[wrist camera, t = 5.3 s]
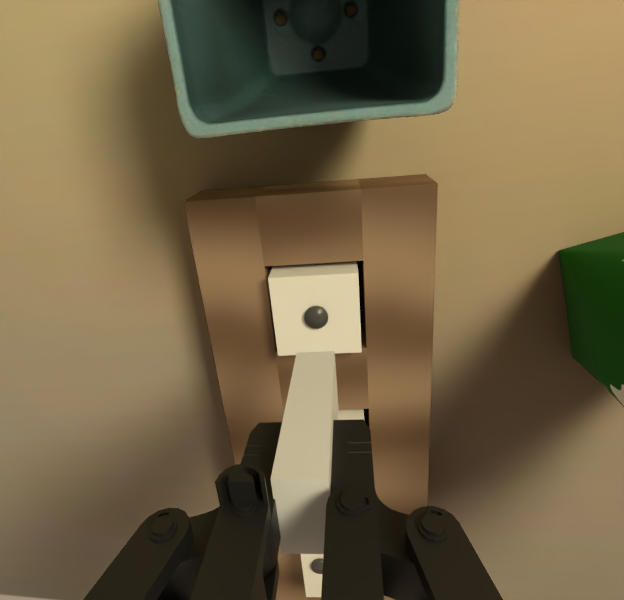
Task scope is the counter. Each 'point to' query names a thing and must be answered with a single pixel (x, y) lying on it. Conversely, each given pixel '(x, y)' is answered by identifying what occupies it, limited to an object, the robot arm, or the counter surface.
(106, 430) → the counter surface
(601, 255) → the milk carton
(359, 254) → the button panel
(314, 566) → the button two
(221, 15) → the flower pot
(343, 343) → the button one
